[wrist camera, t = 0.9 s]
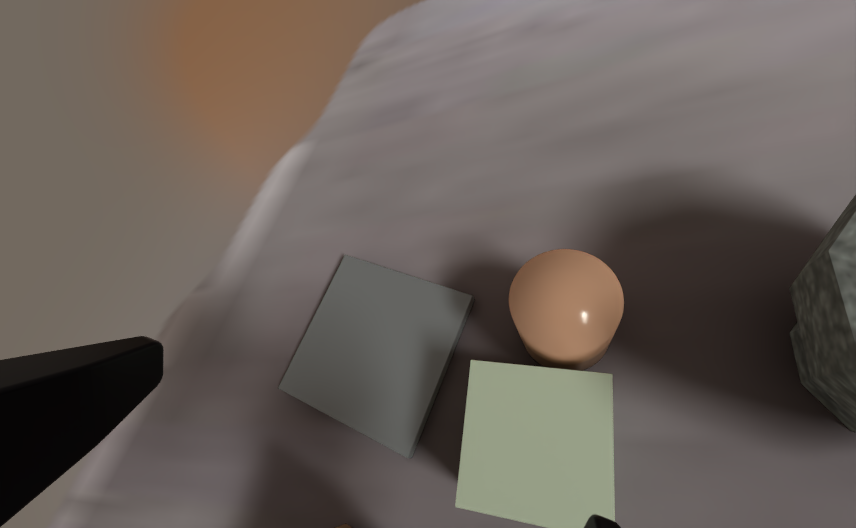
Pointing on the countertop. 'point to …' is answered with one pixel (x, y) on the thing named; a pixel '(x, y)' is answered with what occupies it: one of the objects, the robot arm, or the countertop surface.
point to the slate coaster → (378, 351)
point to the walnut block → (343, 526)
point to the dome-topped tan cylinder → (566, 308)
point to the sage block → (537, 445)
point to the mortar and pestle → (829, 320)
